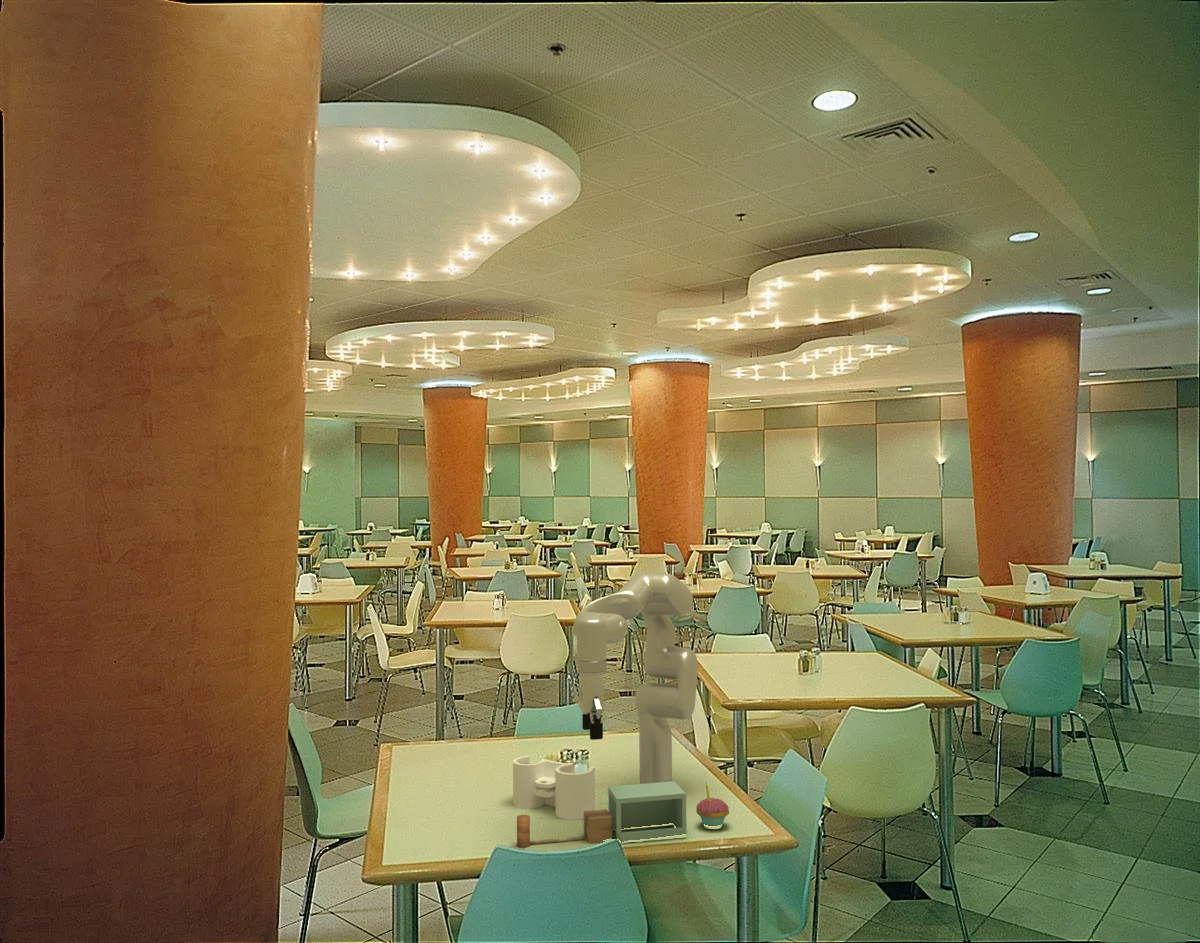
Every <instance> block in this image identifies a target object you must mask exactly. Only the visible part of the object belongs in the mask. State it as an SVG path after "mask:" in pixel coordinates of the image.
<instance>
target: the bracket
mask: <svg viewBox="0 0 1200 943" xmlns="http://www.w3.org/2000/svg"><path fill="white" fill-rule="evenodd" d="M574 768H575V764H574V762H568V763H566V762H559V761H554V760H549V759H546V758H542V759H540V761H539V762H536V763H530V755H525V756H519V757H516V758H514V759H513V760H512V775H513V776H512V798H513V799H512V805H513V806H514V807H515V808H518V809H524V810H526V809H527V810H530V809H531V810H532V809H537V808H541V807H543V806H544V805H546V806H551V807H554V808H555V810H554V811H555V816H556V817H558V818H560V819H563V820H572V821H573V820H575V819H577V820H582V819H583V818H584V811H592V810H596V767H595V766H589V767H588V769H587V770H586V771H582V772H579V773H577V772H576V773H575V769H574ZM583 820H584V819H583Z"/></svg>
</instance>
